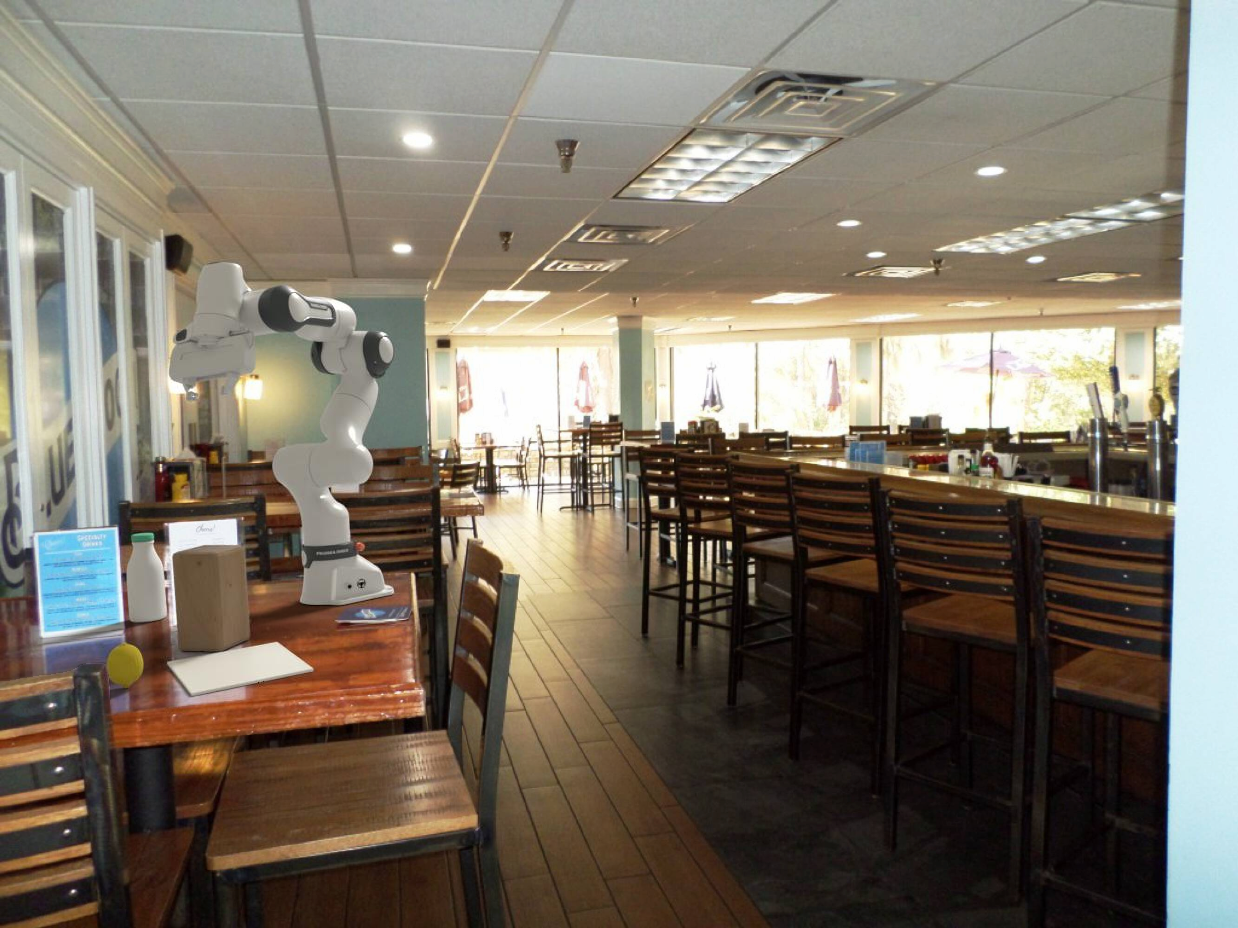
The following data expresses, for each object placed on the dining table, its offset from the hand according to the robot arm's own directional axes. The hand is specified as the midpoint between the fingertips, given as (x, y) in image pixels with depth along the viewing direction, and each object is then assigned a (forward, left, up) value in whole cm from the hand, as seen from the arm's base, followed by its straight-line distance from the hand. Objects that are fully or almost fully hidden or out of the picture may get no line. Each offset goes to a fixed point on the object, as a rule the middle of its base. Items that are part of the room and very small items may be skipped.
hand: (208, 398), depth 178 cm
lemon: (+21, +23, -50) cm, 59 cm away
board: (+3, +24, -50) cm, 56 cm away
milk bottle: (+10, -33, -50) cm, 61 cm away
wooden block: (+3, +4, -50) cm, 51 cm away
